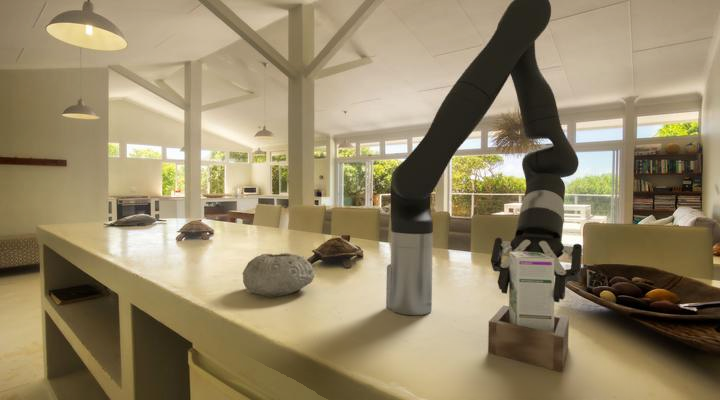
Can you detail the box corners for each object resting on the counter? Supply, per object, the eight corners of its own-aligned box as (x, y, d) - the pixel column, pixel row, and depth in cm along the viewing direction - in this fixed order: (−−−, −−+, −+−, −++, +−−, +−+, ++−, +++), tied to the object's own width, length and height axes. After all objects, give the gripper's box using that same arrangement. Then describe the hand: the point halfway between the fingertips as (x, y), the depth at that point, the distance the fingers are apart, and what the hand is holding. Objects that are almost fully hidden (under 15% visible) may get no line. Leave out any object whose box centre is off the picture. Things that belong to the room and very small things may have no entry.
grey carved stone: (261, 282, 98) (261, 247, 98) (321, 285, 95) (321, 249, 95) (228, 300, 80) (229, 258, 80) (301, 305, 78) (302, 261, 77)
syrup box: (555, 350, 53) (557, 257, 53) (515, 346, 54) (516, 255, 54) (543, 335, 59) (545, 251, 58) (506, 332, 60) (508, 250, 60)
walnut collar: (488, 352, 55) (488, 321, 55) (503, 332, 63) (503, 305, 63) (562, 372, 49) (563, 337, 49) (568, 346, 57) (568, 317, 57)
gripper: (497, 204, 66) (479, 275, 57) (585, 207, 58) (581, 289, 49) (503, 230, 71) (487, 299, 61) (586, 235, 63) (582, 316, 53)
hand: (529, 294), depth 55 cm, fingers closed on syrup box, 7 cm apart
